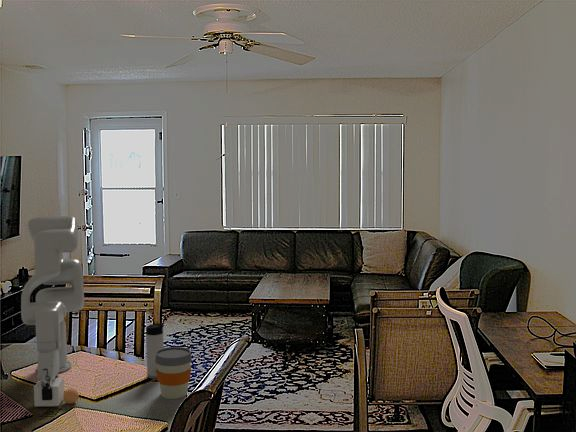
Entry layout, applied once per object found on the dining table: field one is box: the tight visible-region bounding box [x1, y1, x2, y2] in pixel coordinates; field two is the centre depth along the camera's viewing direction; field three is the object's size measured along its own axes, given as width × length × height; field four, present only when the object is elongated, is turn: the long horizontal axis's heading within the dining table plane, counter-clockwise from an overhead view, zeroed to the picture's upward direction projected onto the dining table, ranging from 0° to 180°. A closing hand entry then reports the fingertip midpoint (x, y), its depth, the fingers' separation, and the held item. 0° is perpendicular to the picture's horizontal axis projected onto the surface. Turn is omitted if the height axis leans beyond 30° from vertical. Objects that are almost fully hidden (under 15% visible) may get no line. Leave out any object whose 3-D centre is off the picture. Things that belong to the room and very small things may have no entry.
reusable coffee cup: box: [155, 346, 193, 400], centre depth 232 cm, size 13×13×15 cm
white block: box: [33, 377, 65, 407], centre depth 224 cm, size 8×8×7 cm
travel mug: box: [145, 323, 165, 380], centre depth 249 cm, size 6×7×20 cm
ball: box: [63, 388, 80, 405], centre depth 225 cm, size 5×5×5 cm
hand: (50, 394), depth 224 cm, fingers closed on white block, 7 cm apart
